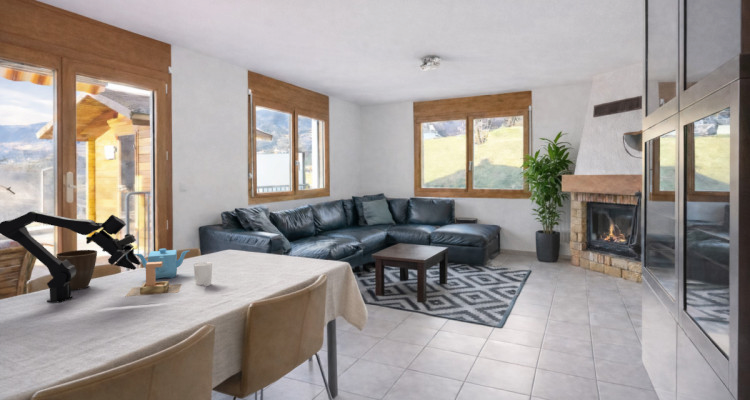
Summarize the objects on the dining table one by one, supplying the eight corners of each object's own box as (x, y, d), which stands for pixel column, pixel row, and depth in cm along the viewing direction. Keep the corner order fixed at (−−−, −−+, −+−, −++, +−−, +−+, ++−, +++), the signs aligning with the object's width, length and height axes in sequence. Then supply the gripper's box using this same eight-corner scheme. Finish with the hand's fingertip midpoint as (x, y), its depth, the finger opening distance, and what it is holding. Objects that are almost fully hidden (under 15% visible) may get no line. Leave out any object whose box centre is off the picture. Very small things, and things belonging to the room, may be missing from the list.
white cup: (190, 285, 188) (190, 264, 187) (204, 282, 195) (204, 261, 194) (202, 288, 184) (201, 266, 184) (216, 284, 191) (215, 263, 190)
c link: (146, 291, 175) (145, 264, 174) (148, 289, 178) (147, 262, 178) (161, 290, 177) (161, 263, 176) (163, 288, 180) (162, 261, 180)
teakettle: (164, 272, 213) (163, 244, 212) (192, 275, 207) (192, 247, 206) (132, 281, 196) (131, 251, 195) (162, 284, 189) (161, 253, 188)
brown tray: (124, 298, 168) (124, 290, 167) (132, 289, 181) (132, 282, 181) (178, 294, 174) (178, 286, 174) (181, 286, 187) (181, 278, 187)
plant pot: (106, 283, 190) (105, 250, 189) (80, 293, 175) (78, 256, 174) (77, 282, 192) (75, 249, 191) (48, 291, 177) (47, 255, 176)
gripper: (116, 231, 163) (148, 256, 167) (127, 225, 181) (156, 248, 185) (94, 252, 161) (126, 277, 165) (107, 244, 178) (137, 267, 183)
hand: (137, 266), depth 175 cm, fingers open, 9 cm apart
